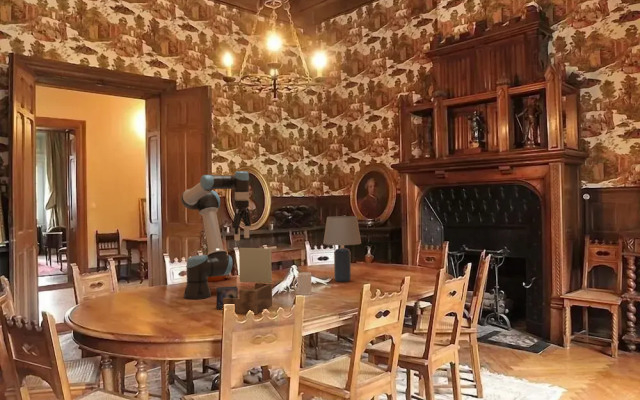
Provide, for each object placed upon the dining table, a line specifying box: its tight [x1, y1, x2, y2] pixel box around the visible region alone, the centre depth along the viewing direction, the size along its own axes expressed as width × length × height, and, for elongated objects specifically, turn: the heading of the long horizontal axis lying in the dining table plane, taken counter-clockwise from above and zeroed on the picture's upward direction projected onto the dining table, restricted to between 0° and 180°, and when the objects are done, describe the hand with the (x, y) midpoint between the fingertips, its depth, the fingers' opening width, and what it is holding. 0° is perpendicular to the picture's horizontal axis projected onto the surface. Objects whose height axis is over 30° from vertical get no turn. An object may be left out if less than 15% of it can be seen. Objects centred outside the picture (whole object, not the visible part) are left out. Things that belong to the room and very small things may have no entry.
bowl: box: [208, 275, 228, 282], centre depth 353 cm, size 25×25×10 cm
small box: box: [216, 285, 239, 310], centre depth 265 cm, size 11×6×10 cm, turn 105°
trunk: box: [223, 283, 273, 316], centre depth 262 cm, size 18×20×12 cm
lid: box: [238, 247, 273, 284], centre depth 271 cm, size 18×18×2 cm
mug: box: [292, 272, 313, 296], centre depth 299 cm, size 12×8×12 cm
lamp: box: [323, 215, 362, 283], centre depth 341 cm, size 25×25×43 cm
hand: (242, 239), depth 278 cm, fingers open, 13 cm apart
